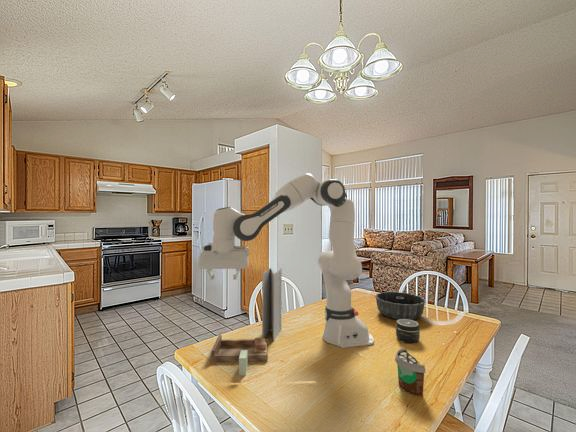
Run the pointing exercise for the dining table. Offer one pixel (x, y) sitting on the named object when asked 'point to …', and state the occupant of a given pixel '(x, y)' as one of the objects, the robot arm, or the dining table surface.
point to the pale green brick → (243, 362)
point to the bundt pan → (400, 305)
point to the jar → (407, 331)
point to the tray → (236, 350)
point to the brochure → (271, 302)
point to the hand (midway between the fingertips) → (223, 279)
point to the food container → (410, 373)
